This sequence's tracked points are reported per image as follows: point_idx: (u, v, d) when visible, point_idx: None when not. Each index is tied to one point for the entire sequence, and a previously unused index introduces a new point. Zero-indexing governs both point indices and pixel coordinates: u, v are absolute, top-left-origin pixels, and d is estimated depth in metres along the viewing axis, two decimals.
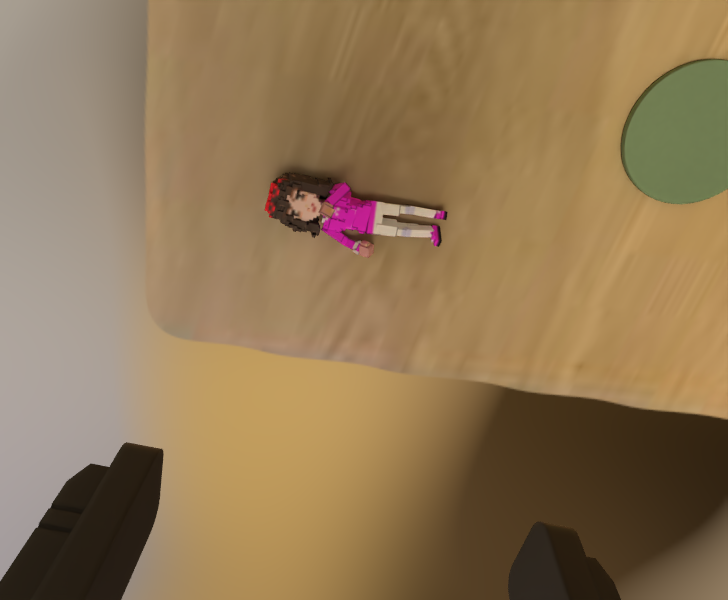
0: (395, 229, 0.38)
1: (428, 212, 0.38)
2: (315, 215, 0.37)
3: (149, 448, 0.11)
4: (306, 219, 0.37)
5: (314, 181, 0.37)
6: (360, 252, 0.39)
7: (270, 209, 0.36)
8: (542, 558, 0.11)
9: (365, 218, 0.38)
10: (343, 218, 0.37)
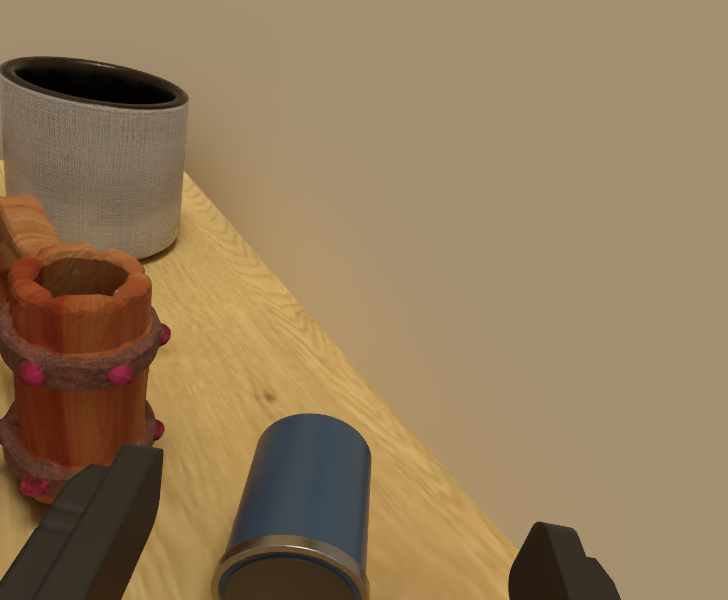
0: None
1: None
2: None
3: (149, 448, 0.11)
4: None
5: None
6: None
7: None
8: (542, 558, 0.11)
9: None
10: None
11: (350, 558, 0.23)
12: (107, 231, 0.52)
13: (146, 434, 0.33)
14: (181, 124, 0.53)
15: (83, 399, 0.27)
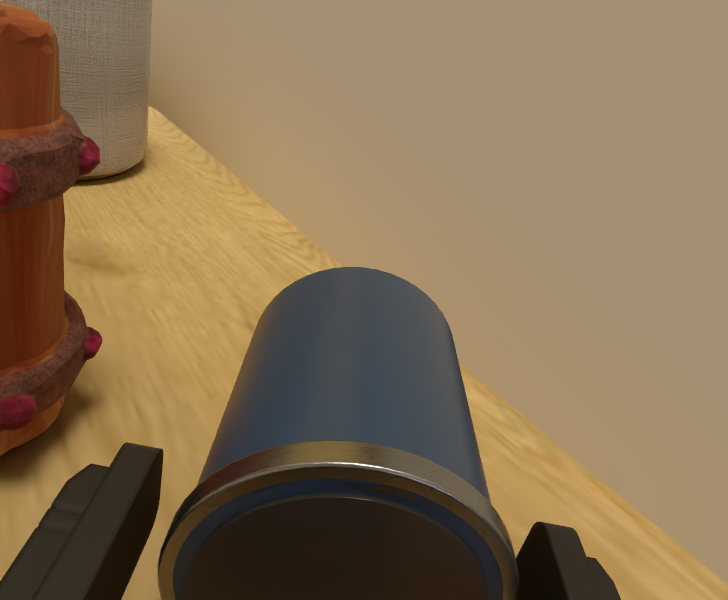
0: None
1: None
2: None
3: (149, 448, 0.11)
4: None
5: None
6: None
7: None
8: (542, 558, 0.11)
9: None
10: None
11: (481, 496, 0.10)
12: None
13: (67, 342, 0.20)
14: None
15: None
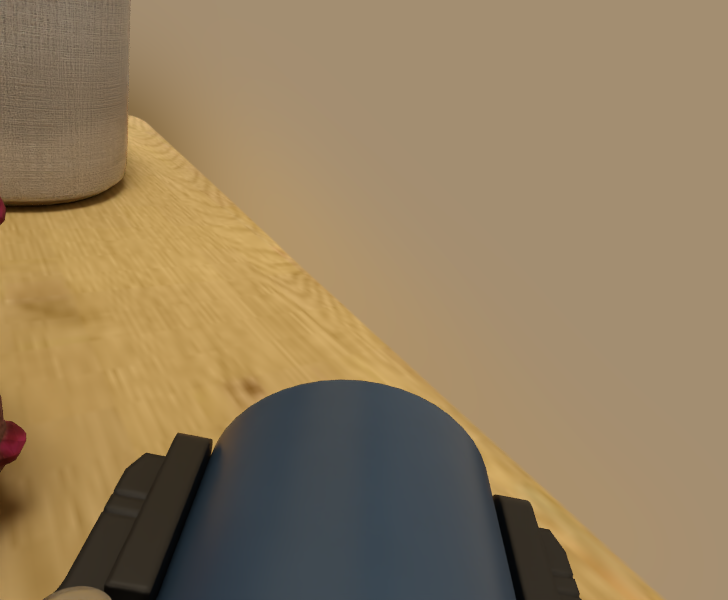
0: None
1: None
2: None
3: (200, 438, 0.11)
4: None
5: None
6: None
7: None
8: None
9: None
10: None
11: None
12: (4, 150, 0.34)
13: None
14: None
15: None
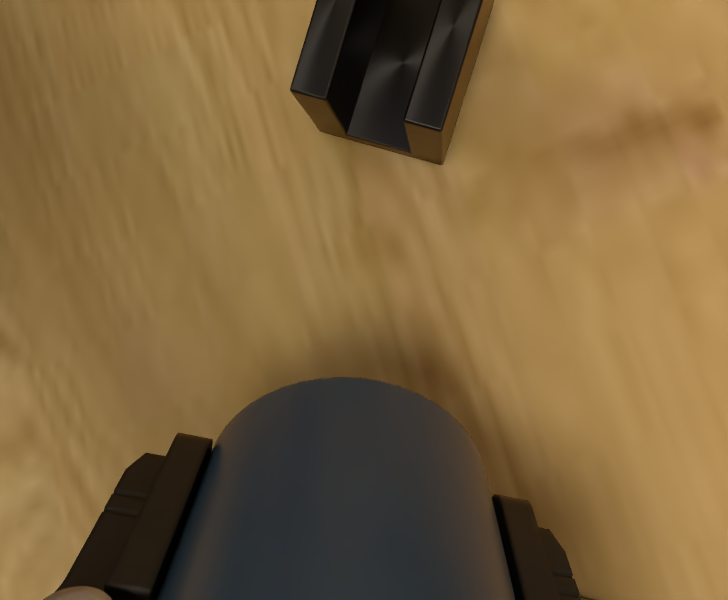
0: None
1: None
2: None
3: (201, 438, 0.11)
4: None
5: None
6: None
7: None
8: None
9: None
10: None
11: None
12: None
13: None
14: None
15: None
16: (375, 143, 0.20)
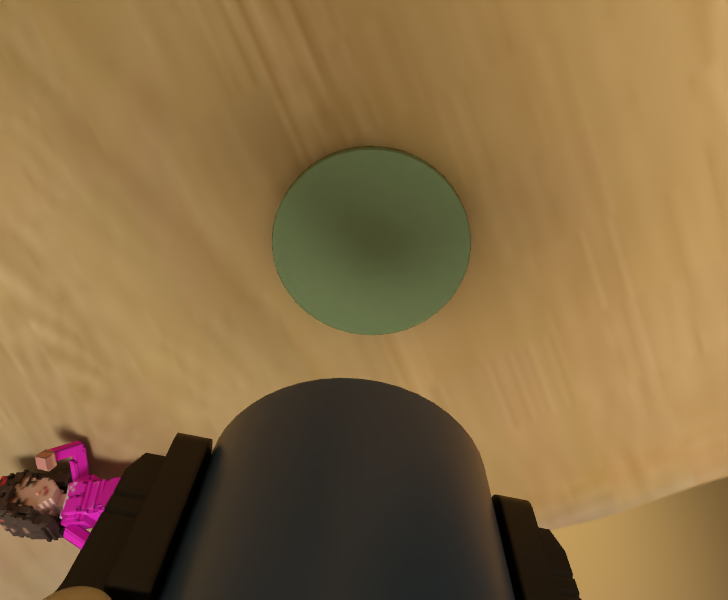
0: None
1: None
2: (46, 498, 0.30)
3: (200, 438, 0.11)
4: (34, 506, 0.30)
5: None
6: None
7: None
8: None
9: (112, 491, 0.31)
10: (81, 492, 0.30)
11: None
12: None
13: None
14: None
15: None
16: None
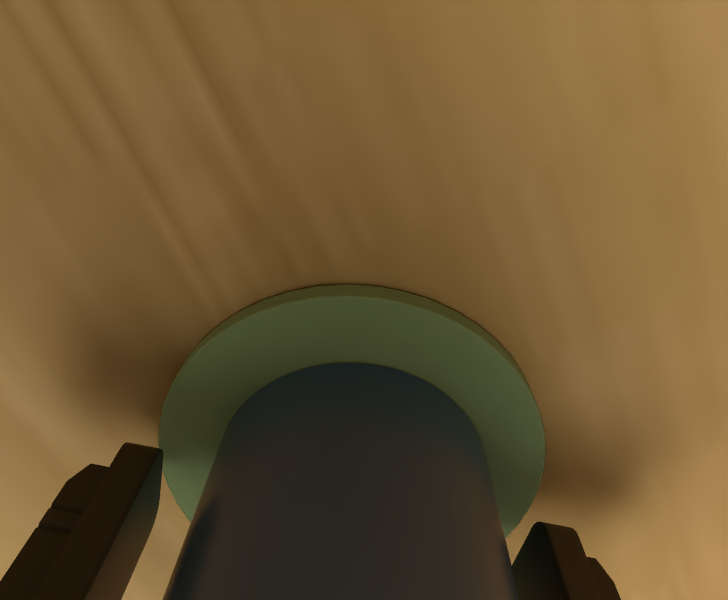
0: None
1: None
2: None
3: (149, 448, 0.11)
4: None
5: None
6: None
7: None
8: (542, 558, 0.11)
9: None
10: None
11: None
12: None
13: None
14: None
15: None
16: None
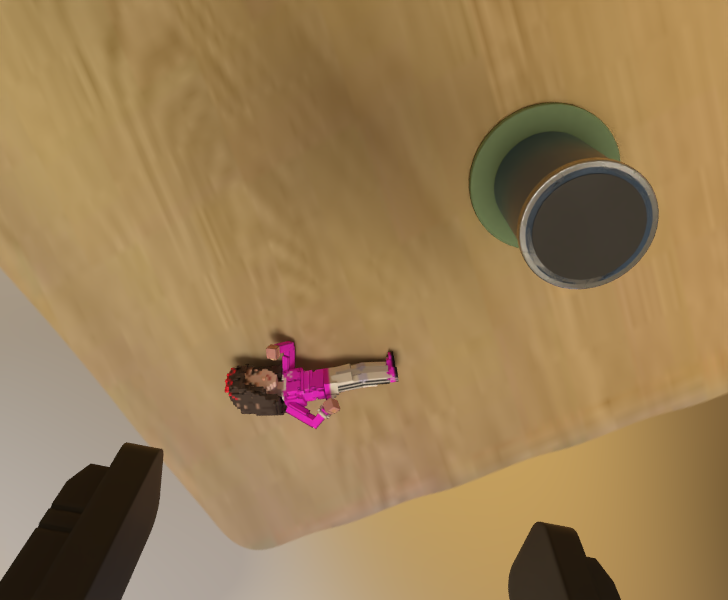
0: (349, 374, 0.39)
1: (378, 363, 0.41)
2: (271, 382, 0.39)
3: (149, 448, 0.11)
4: (264, 387, 0.39)
5: None
6: (325, 408, 0.38)
7: (228, 384, 0.39)
8: (542, 558, 0.11)
9: (320, 378, 0.40)
10: (297, 377, 0.39)
11: None
12: None
13: None
14: None
15: None
16: None
